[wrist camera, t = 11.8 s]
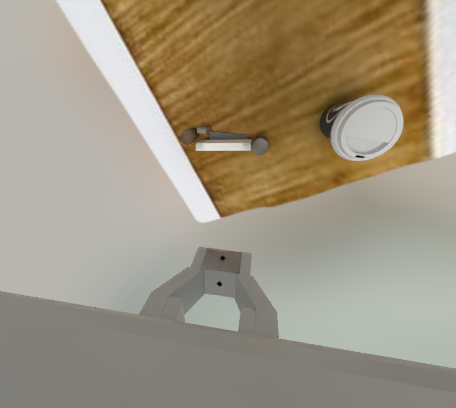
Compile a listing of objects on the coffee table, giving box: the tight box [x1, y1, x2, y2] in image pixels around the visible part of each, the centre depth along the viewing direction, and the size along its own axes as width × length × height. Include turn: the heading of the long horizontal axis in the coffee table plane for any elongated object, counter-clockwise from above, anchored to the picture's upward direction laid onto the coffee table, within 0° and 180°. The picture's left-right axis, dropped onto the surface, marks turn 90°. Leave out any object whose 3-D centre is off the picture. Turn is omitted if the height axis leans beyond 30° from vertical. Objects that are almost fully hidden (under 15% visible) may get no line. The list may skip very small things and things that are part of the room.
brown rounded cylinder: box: [180, 126, 210, 145], centre depth 45 cm, size 4×5×5 cm, turn 86°
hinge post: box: [252, 136, 268, 155], centre depth 43 cm, size 3×3×5 cm
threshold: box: [209, 131, 248, 140], centre depth 46 cm, size 2×9×1 cm, turn 85°
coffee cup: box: [320, 94, 403, 161], centre depth 35 cm, size 10×10×15 cm
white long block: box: [196, 139, 251, 151], centre depth 44 cm, size 12×2×4 cm, turn 92°
